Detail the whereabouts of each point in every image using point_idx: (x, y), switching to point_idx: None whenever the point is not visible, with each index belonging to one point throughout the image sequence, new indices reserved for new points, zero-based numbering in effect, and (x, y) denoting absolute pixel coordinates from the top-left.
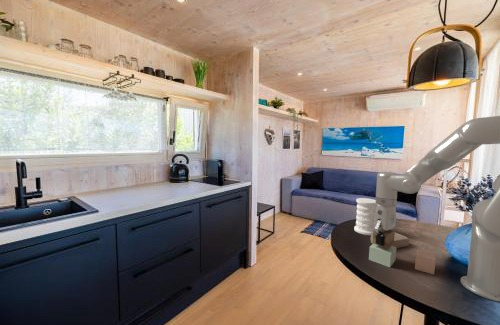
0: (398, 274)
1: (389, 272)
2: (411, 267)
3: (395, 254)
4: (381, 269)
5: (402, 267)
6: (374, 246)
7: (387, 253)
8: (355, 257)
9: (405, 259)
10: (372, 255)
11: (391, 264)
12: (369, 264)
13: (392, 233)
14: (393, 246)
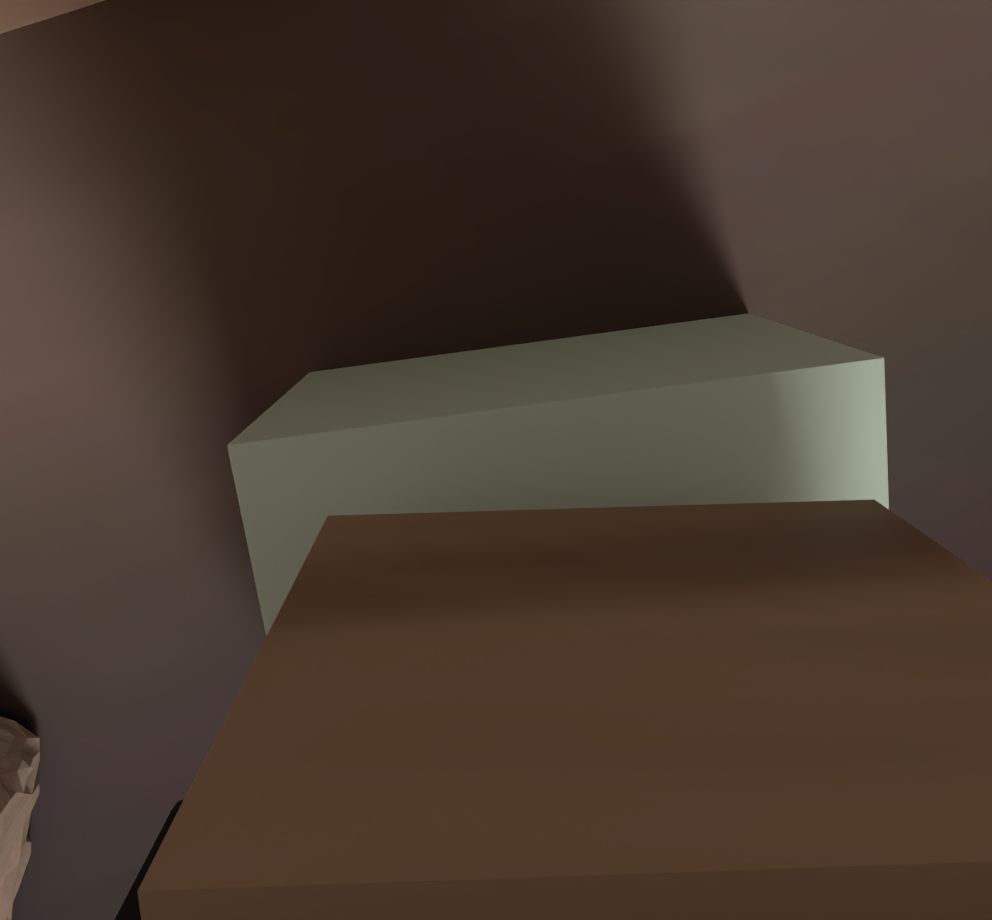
0: (914, 66)
1: (979, 223)
2: (334, 5)
3: (323, 395)
4: (983, 379)
5: (517, 138)
6: None
7: (872, 441)
8: None
9: (51, 251)
10: None
11: (630, 332)
12: None
13: (585, 820)
14: (245, 530)
